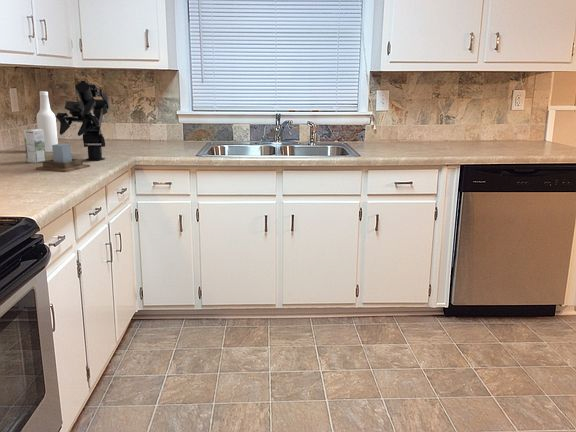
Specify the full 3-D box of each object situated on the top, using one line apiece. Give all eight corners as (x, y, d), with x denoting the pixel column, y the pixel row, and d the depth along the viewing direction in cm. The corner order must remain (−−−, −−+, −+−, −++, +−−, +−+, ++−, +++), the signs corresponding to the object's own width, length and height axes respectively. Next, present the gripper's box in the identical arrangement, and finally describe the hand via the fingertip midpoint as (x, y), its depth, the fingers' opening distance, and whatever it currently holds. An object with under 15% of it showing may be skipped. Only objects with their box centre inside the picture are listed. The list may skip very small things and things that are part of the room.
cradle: (61, 164, 226) (60, 156, 225) (90, 166, 222) (89, 159, 221) (35, 169, 212) (34, 161, 211) (65, 171, 208) (64, 164, 207)
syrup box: (36, 160, 234) (33, 128, 231) (46, 161, 232) (43, 129, 229) (26, 162, 229) (23, 129, 226) (36, 163, 227) (33, 130, 223)
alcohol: (46, 153, 258) (40, 91, 250) (36, 151, 262) (30, 91, 255) (62, 151, 265) (56, 91, 257) (52, 149, 269) (46, 91, 262)
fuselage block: (62, 164, 220) (60, 143, 217) (72, 165, 218) (70, 144, 216) (54, 166, 215) (52, 145, 213) (63, 167, 214) (61, 145, 211)
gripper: (56, 93, 221) (40, 121, 214) (93, 94, 215) (77, 123, 208) (71, 111, 230) (55, 138, 223) (106, 113, 225) (91, 140, 217)
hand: (69, 134), depth 218 cm, fingers open, 9 cm apart
